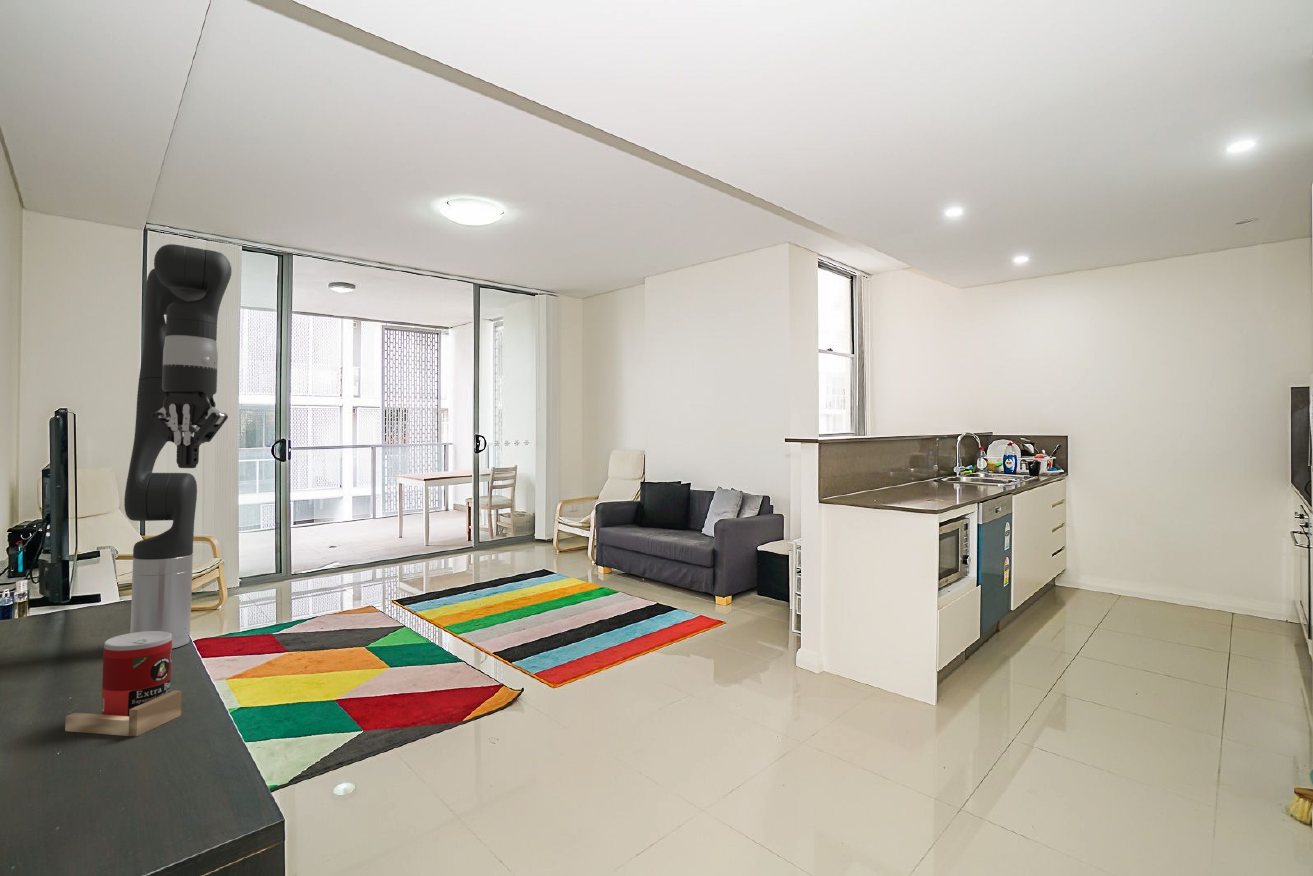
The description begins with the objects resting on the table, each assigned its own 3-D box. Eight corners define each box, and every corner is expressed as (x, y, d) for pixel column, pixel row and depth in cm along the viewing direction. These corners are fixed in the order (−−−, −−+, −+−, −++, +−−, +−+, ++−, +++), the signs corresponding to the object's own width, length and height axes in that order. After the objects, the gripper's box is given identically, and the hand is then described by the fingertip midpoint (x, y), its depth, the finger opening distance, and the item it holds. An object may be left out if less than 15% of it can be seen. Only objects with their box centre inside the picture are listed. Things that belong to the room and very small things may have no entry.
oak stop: (65, 731, 87) (66, 704, 87) (114, 710, 94) (115, 686, 94) (136, 736, 86) (137, 710, 86) (181, 715, 93) (181, 690, 93)
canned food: (134, 728, 89) (137, 647, 89) (85, 723, 90) (88, 643, 90) (183, 707, 96) (186, 632, 96) (137, 702, 97) (139, 629, 98)
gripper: (243, 368, 112) (240, 468, 112) (174, 368, 114) (170, 466, 114) (208, 362, 105) (204, 469, 105) (135, 362, 107) (131, 467, 106)
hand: (187, 467), depth 109 cm, fingers closed
